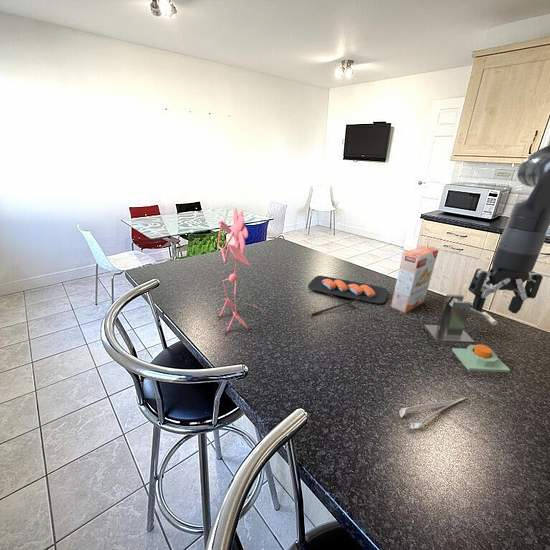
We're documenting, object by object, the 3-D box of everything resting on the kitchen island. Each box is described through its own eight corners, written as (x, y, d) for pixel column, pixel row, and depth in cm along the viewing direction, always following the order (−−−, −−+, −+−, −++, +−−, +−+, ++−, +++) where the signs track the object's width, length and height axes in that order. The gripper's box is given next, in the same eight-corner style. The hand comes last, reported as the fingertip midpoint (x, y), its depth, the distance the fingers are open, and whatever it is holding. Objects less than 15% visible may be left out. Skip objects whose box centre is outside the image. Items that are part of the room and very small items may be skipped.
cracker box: (406, 316, 98) (419, 257, 90) (389, 308, 102) (401, 252, 94) (425, 303, 106) (439, 249, 98) (409, 297, 110) (422, 244, 102)
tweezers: (414, 432, 57) (417, 424, 56) (397, 413, 61) (399, 406, 60) (473, 410, 64) (476, 403, 63) (454, 395, 68) (456, 388, 67)
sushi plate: (388, 292, 114) (389, 283, 112) (378, 332, 89) (380, 321, 87) (316, 278, 125) (317, 270, 123) (290, 310, 100) (290, 300, 98)
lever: (483, 317, 87) (488, 311, 86) (493, 327, 83) (499, 320, 82) (446, 301, 86) (451, 295, 85) (455, 310, 81) (460, 303, 80)
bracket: (458, 329, 91) (470, 293, 86) (473, 345, 84) (487, 306, 79) (423, 328, 91) (432, 291, 86) (434, 343, 84) (446, 304, 79)
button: (484, 349, 77) (486, 344, 76) (493, 359, 73) (495, 353, 73) (470, 349, 77) (472, 343, 76) (478, 358, 74) (480, 352, 73)
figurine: (231, 348, 80) (226, 221, 66) (212, 304, 102) (204, 203, 88) (282, 336, 86) (287, 217, 72) (253, 297, 107) (253, 200, 93)
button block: (487, 354, 80) (492, 344, 79) (508, 375, 73) (512, 364, 71) (450, 353, 80) (454, 342, 79) (467, 373, 73) (471, 362, 71)
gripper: (497, 251, 62) (474, 317, 69) (565, 255, 62) (536, 320, 68) (476, 241, 69) (457, 302, 75) (537, 244, 69) (513, 305, 75)
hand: (494, 310), depth 72 cm, fingers open, 8 cm apart
